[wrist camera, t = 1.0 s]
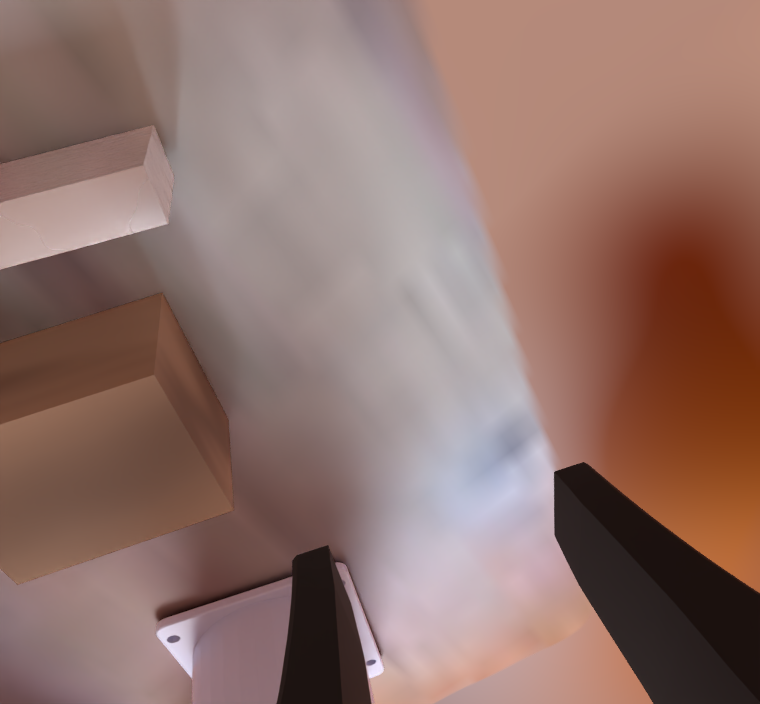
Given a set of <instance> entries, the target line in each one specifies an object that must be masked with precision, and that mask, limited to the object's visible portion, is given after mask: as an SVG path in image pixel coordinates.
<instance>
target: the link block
mask: <svg viewBox="0 0 760 704" xmlns="http://www.w3.org/2000/svg"><path fill="white" fill-rule="evenodd" d="M231 511H234V501H233V485H232V469H231V452H230V436H229V420H228V418H227V416H226V414H225V412H224V410H223V409H222V407H221V405H220V403H219V401H218V399H217V397H216V395H215V393H214V391H213V389H212V387H211V385H210V383H209V382H208V380H207V378H206V376H205V374H204V372H203V370H202V368H201V366H200V364H199V362H198V360H197V358H196V356H195V355H194V353H193V351H192V349H191V347H190V345H189V343H188V341H187V339H186V337H185V335H184V333H183V331H182V329H181V328H180V326H179V324H178V322H177V320H176V318H175V316H174V314H173V312H172V310H171V308H170V306H169V304H168V303H167V301H166V299H165V297H164V295H163V293H159V294H156V295H153V296H150V297H146V298H143V299H140V300H137V301H133V302H130V303H127V304H124V305H121V306H117V307H114V308H111V309H108V310H105V311H101V312H98V313H95V314H92V315H89V316H85V317H82V318H79V319H76V320H73V321H69V322H66V323H63V324H60V325H57V326H53V327H50V328H47V329H44V330H41V331H37V332H34V333H31V334H28V335H24V336H21V337H18V338H15V339H12V340H8V341H5V342H2V343H0V569H1V570H2V571H3V572H4V573H5V574H6V575H8V576H9V577H10V578H11V579H12V580H13V581H14V582H15V583H16V584H17V585H19V584H21V583H24V582H27V581H30V580H33V579H36V578H39V577H42V576H45V575H48V574H51V573H53V572H56V571H59V570H62V569H65V568H68V567H71V566H74V565H77V564H80V563H83V562H86V561H88V560H91V559H94V558H97V557H100V556H103V555H106V554H109V553H112V552H115V551H118V550H120V549H123V548H126V547H129V546H132V545H135V544H138V543H141V542H144V541H147V540H150V539H152V538H155V537H158V536H161V535H164V534H167V533H170V532H173V531H176V530H179V529H182V528H185V527H187V526H190V525H193V524H196V523H199V522H202V521H205V520H208V519H211V518H214V517H217V516H219V515H222V514H225V513H228V512H231Z"/></svg>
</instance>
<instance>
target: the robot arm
mask: <svg viewBox="0 0 760 704" xmlns="http://www.w3.org/2000/svg"><path fill="white" fill-rule="evenodd" d="M554 528H555V537H556V539H557V541H558V543H559V545H560V548H561V550H562V552H563V554H564V556H565V558H566V560H567V562H568V564H569V566H570V568H571V570H572V572H573V574H574V576H575V578H576V580H577V582H578V584H579V586H580V587H581V589H582V591H583V592H584V594H585V595H586V597H587V599H588V600H589V602H590V603H591V605H592V607H593V608H594V610H595V611H596V613H597V614H598V616H599V618H600V619H601V621H602V622H603V624H604V626H605V627H606V629H607V630H608V632H609V633H610V635H611V637H612V638H613V640H614V641H615V643H616V644H617V646H618V648H619V649H620V651H621V652H622V654H623V655H624V657H625V658H626V660H627V662H628V663H629V665H630V666H631V668H632V670H633V671H634V673H635V674H636V676H637V678H638V679H639V680H640V682H641V684H642V685H643V687H644V689H645V690H646V692H647V693H648V695H649V697H650V699H651V700H652V702H653V704H760V593H758V592H757V591H755V590H754V589H752V588H751V587H749V586H748V585H746V584H745V583H743V582H742V581H740V580H739V579H737V578H736V577H734V576H733V575H731V574H730V573H728V572H727V571H725V570H724V569H722V568H721V567H720V566H718V565H716V564H715V563H714V562H712V561H711V560H710V559H708V558H707V557H705V556H704V555H702V554H701V553H700V552H698V551H697V550H695V549H694V548H693V547H691V546H690V545H689V544H687V543H686V542H685V541H683V540H682V539H680V538H679V537H678V536H677V535H675V534H674V533H673V532H671V531H670V530H668V529H667V528H666V527H664V526H663V525H662V524H661V523H659V522H658V521H657V520H655V519H654V518H653V517H651V516H650V515H649V514H648V513H646V512H645V511H644V510H643V509H641V508H640V507H639V506H638V505H636V504H635V503H634V502H632V501H631V500H630V499H629V498H628V497H626V496H625V495H624V494H623V493H622V492H620V491H619V490H618V489H617V488H615V487H614V486H613V485H612V484H611V483H609V482H608V481H607V480H606V479H605V478H604V477H602V476H601V475H600V474H599V473H598V472H596V471H595V470H594V469H593V468H592V467H591V466H589V465H588V464H586V463H584V462H583V463H580V464H576V465H573V466H570V467H567V468H564V469H561V470H558V471H555V472H554ZM156 636H157V637H158V638H159V640H160V641H161V642H162V643H163V644H164V646H165V647H166V648H167V649H168V650H169V652H170V653H171V654H172V655H173V657H174V658H175V659H176V660H177V661H178V663H179V664H180V665H181V666H182V667H183V669H184V670H185V671H186V672H187V674H188V675H189V676H190V677H191V678H192V704H375V702H374V697H373V693H372V688H371V684H370V679H369V678H372V677H375V676H378V675H380V674H381V673H382V672H383V671H384V665H383V661H382V659H381V656H380V653H379V651H378V648H377V645H376V643H375V640H374V638H373V635H372V632H371V630H370V627H369V624H368V622H367V619H366V616H365V614H364V611H363V609H362V606H361V603H360V601H359V598H358V595H357V593H356V590H355V587H354V585H353V582H352V580H351V577H350V574H349V572H348V569H347V566H346V565H345V564H343V563H339V562H336V563H335V561H334V559H333V556H332V554H331V551H330V549H329V546H328V545H327V546H324V547H321V548H318V549H315V550H312V551H309V552H306V553H303V554H300V555H297V556H296V557H295V558H294V560H293V561H292V577H289V578H286V579H283V580H280V581H277V582H274V583H271V584H267V585H264V586H261V587H258V588H255V589H252V590H249V591H246V592H243V593H240V594H237V595H234V596H231V597H228V598H225V599H222V600H219V601H216V602H213V603H210V604H207V605H204V606H200V607H197V608H194V609H191V610H188V611H185V612H182V613H179V614H176V615H173V616H170V617H167V618H164V619H162V620H160V621H159V622H158V623H157V625H156Z"/></svg>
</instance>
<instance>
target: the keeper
mask: <svg viewBox="0 0 760 704" xmlns="http://www.w3.org/2000/svg"><path fill="white" fill-rule="evenodd" d="M173 183H174V173H173V171H172V169H171V166H170V164H169V161H168V159H167V156H166V154H165V151H164V149H163V146H162V144H161V141H160V139H159V136H158V134H157V131H156V129H155V126H154V125H151V126H147V127H143V128H139V129H135V130H131V131H127V132H124V133H120V134H116V135H112V136H108V137H104V138H100V139H96V140H92V141H88V142H84V143H81V144H77V145H73V146H69V147H65V148H61V149H57V150H53V151H49V152H45V153H42V154H38V155H34V156H30V157H26V158H22V159H18V160H14V161H10V162H6V163H2V164H0V270H1V269H5V268H8V267H12V266H16V265H19V264H23V263H27V262H30V261H34V260H38V259H42V258H45V257H49V256H53V255H56V254H60V253H64V252H67V251H71V250H75V249H78V248H82V247H86V246H90V245H93V244H97V243H101V242H104V241H108V240H112V239H115V238H119V237H123V236H126V235H130V234H134V233H138V232H141V231H145V230H149V229H152V228H156V227H160V226H163V225H167V224H169V216H170V208H171V199H172V191H173Z"/></svg>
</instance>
